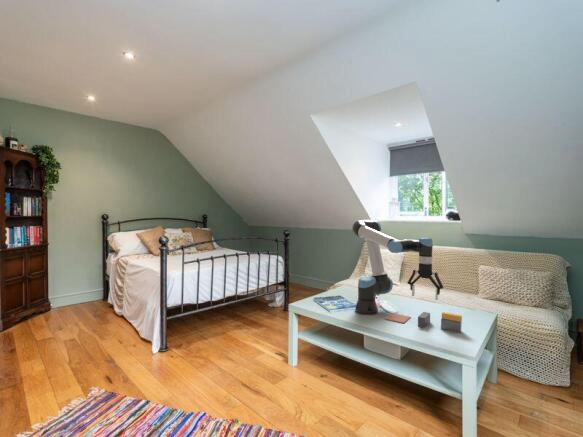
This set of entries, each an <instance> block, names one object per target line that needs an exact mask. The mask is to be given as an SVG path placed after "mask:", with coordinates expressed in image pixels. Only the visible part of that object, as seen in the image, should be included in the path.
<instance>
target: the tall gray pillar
mask: <svg viewBox="0 0 583 437" xmlns="http://www.w3.org/2000/svg"><path fill="white" fill-rule="evenodd" d="M430 323H431V313H430V312H426V311H423V312H421V314H419V315H418V316H417V327H419V328H427V326H428V325H429V324H430Z"/></svg>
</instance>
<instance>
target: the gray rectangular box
mask: <svg viewBox="0 0 583 437" xmlns="http://www.w3.org/2000/svg"><path fill="white" fill-rule="evenodd" d="M462 321H463V320H462ZM462 321H461V322H458V321H453V320H448V319H443V318H442V317H441V319H440V330H444V331H448V332H453V333H456V334H457V333H458V334H461V333H462V327H463V326H462V323H463V322H462Z"/></svg>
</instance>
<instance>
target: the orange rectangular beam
mask: <svg viewBox="0 0 583 437" xmlns="http://www.w3.org/2000/svg"><path fill="white" fill-rule="evenodd" d="M442 318H443V319H448V320H453V321H458V322H461V321H463V315H461V314H456V313H452V312H451V313H450V312H447V311H446V312H445V311H443V312H441V319H442Z"/></svg>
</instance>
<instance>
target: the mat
mask: <svg viewBox="0 0 583 437" xmlns="http://www.w3.org/2000/svg"><path fill="white" fill-rule="evenodd" d="M410 319H412V318H411V316H408V315H404V314H400V313H395V312H392V313H391V314H389V315H388V316H386V317H385V318H384V320H385V321H390V322H396V323H399V324H405V323H407V322H408V321H409V320H410Z"/></svg>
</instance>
